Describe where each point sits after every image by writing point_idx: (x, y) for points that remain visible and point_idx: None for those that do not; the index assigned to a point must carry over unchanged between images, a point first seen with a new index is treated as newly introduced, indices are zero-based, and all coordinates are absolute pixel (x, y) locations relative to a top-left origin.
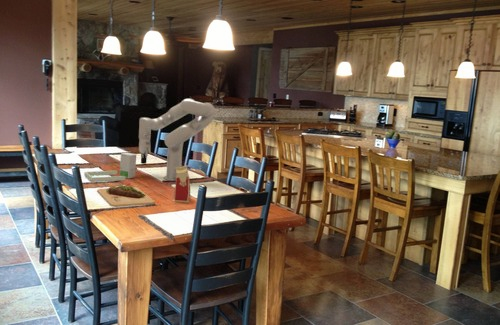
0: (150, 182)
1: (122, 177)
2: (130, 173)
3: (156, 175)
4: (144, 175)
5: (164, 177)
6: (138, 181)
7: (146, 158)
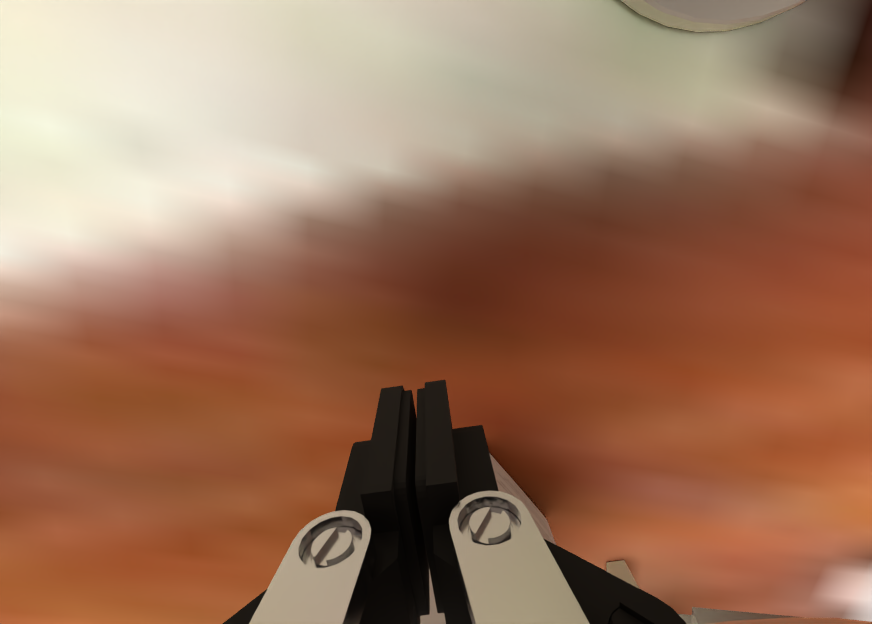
0: (832, 310)
1: None
2: None
3: (392, 100)
4: (384, 300)
5: (724, 20)
6: (729, 440)
7: (453, 463)
